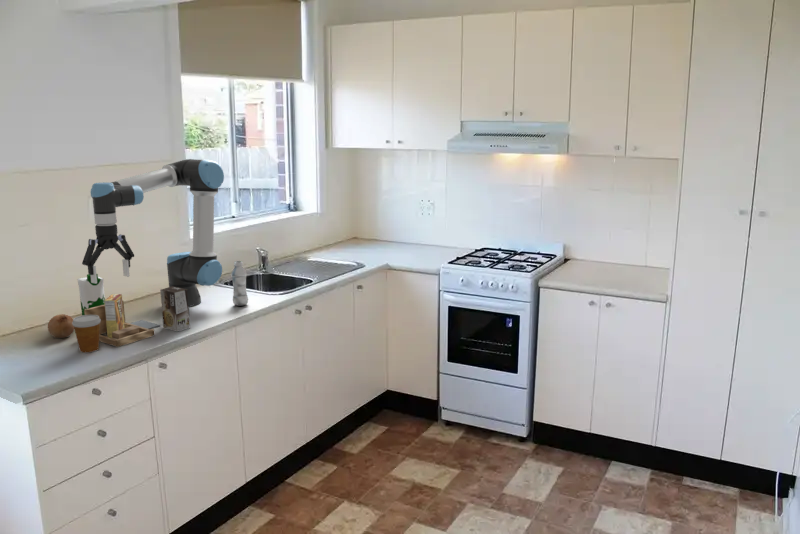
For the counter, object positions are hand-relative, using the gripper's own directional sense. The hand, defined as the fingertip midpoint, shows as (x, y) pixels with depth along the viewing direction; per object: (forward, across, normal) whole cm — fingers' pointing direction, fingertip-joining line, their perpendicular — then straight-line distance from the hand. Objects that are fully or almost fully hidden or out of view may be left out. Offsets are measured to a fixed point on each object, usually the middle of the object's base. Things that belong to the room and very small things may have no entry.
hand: (110, 279), depth 259 cm
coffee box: (+22, -19, +12) cm, 32 cm away
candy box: (+22, 0, 0) cm, 23 cm away
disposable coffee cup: (+23, +15, +7) cm, 28 cm away
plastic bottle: (+22, -56, +9) cm, 61 cm away
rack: (+22, 0, +3) cm, 22 cm away
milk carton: (+22, -6, -24) cm, 34 cm away
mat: (+22, -13, -1) cm, 26 cm away
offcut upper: (+21, +1, +8) cm, 22 cm away
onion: (+23, +13, -15) cm, 30 cm away
